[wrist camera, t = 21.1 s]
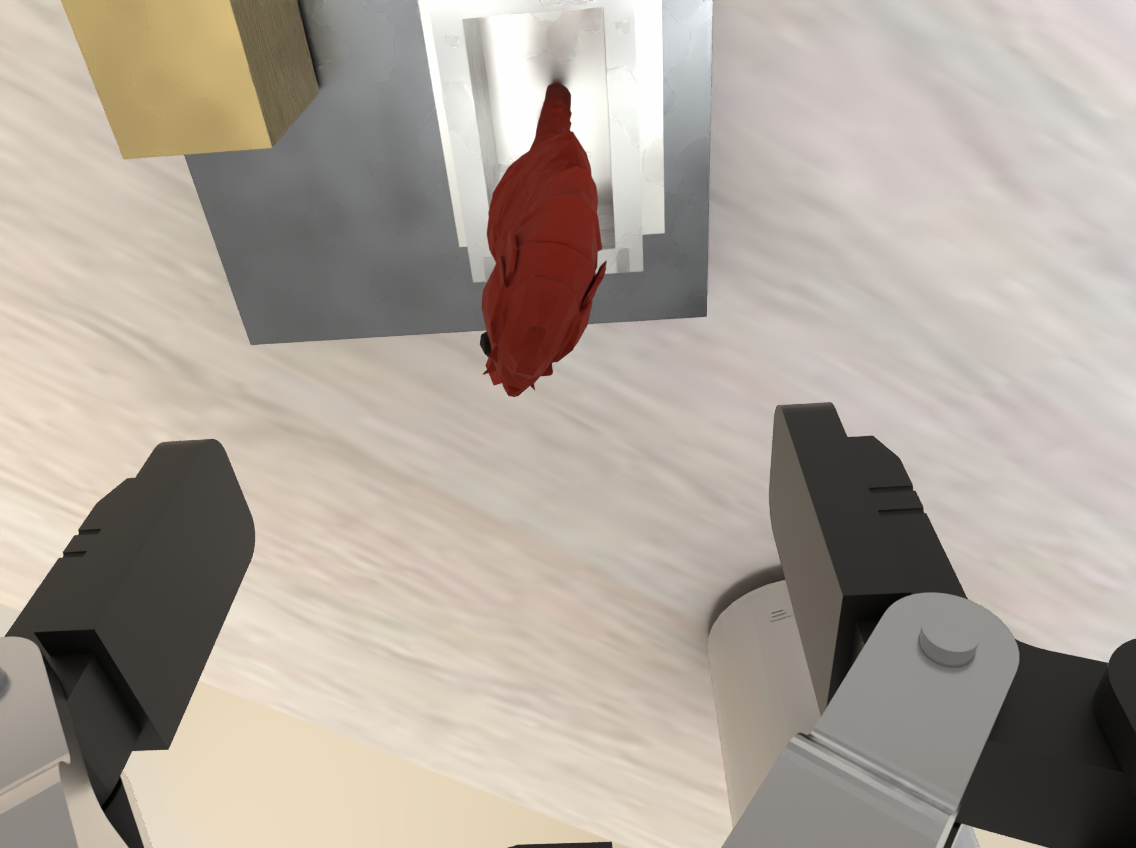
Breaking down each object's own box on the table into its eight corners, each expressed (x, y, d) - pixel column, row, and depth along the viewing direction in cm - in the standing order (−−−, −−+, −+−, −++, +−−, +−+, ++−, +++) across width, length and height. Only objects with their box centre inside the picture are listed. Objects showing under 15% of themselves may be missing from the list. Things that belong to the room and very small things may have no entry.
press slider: (319, 92, 26) (271, 147, 22) (193, 102, 27) (123, 159, 23) (283, -55, 24) (222, -23, 20) (145, -43, 24) (57, -9, 20)
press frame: (702, 296, 32) (724, 395, 27) (262, 324, 33) (203, 424, 28) (710, -237, 23) (747, -243, 18) (94, -175, 24) (-42, -164, 19)
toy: (490, 172, 28) (418, 466, 16) (543, -1, 25) (506, 199, 13) (559, 195, 28) (542, 499, 16) (620, 29, 25) (655, 250, 13)
